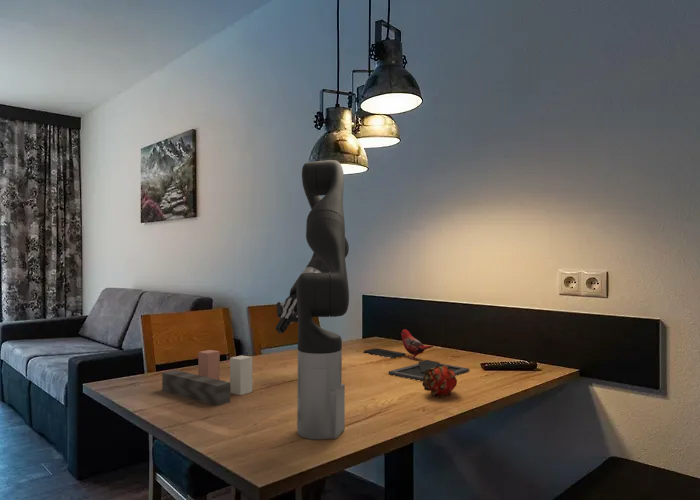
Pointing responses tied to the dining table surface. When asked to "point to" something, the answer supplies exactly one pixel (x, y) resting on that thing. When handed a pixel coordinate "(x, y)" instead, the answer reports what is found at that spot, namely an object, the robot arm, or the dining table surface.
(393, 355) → the phone
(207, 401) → the switch board
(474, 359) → the dining table surface
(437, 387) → the dragon fruit
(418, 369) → the picture frame
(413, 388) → the dining table surface
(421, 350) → the decorative bird figurine
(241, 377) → the cream key
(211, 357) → the brick key
